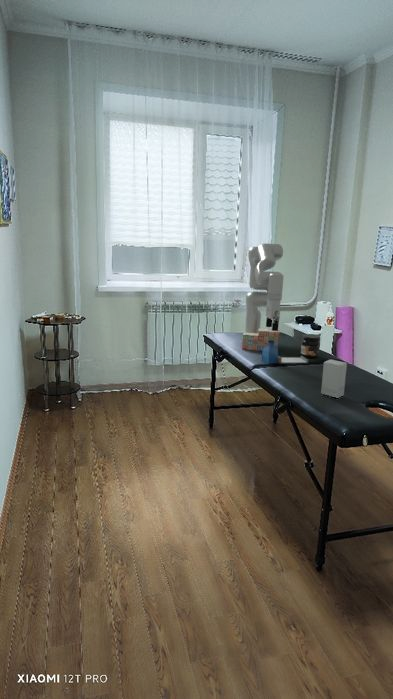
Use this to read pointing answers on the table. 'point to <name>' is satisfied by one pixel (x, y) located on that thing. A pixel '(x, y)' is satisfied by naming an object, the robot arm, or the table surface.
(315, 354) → the supplement container
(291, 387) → the table surface
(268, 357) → the perfume bottle
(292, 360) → the mat
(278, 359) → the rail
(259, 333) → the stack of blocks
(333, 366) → the skincare box
